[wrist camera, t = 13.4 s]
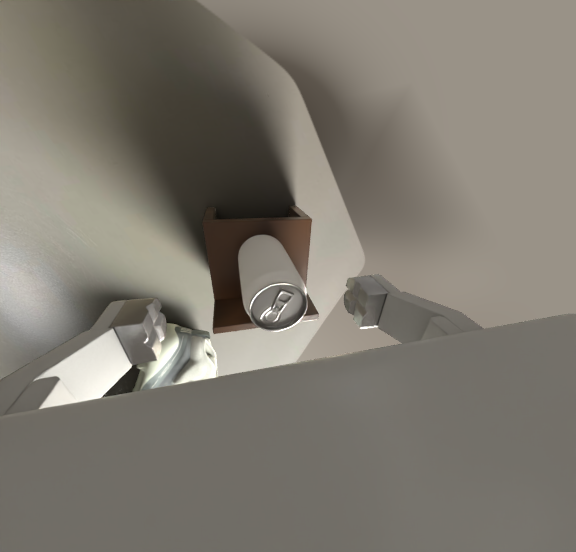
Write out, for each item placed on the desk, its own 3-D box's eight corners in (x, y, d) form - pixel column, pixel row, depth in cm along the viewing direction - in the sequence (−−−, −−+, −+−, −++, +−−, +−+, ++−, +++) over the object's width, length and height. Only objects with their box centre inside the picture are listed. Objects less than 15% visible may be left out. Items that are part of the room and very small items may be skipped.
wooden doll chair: (296, 205, 37) (329, 233, 25) (292, 272, 43) (318, 319, 31) (206, 207, 34) (196, 239, 22) (217, 278, 40) (213, 334, 28)
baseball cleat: (104, 462, 42) (190, 457, 48) (126, 355, 31) (234, 366, 37) (125, 408, 50) (196, 410, 56) (148, 310, 39) (233, 325, 46)
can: (229, 266, 30) (231, 325, 20) (251, 224, 28) (265, 267, 18) (270, 282, 33) (290, 340, 23) (292, 245, 31) (324, 292, 21)
